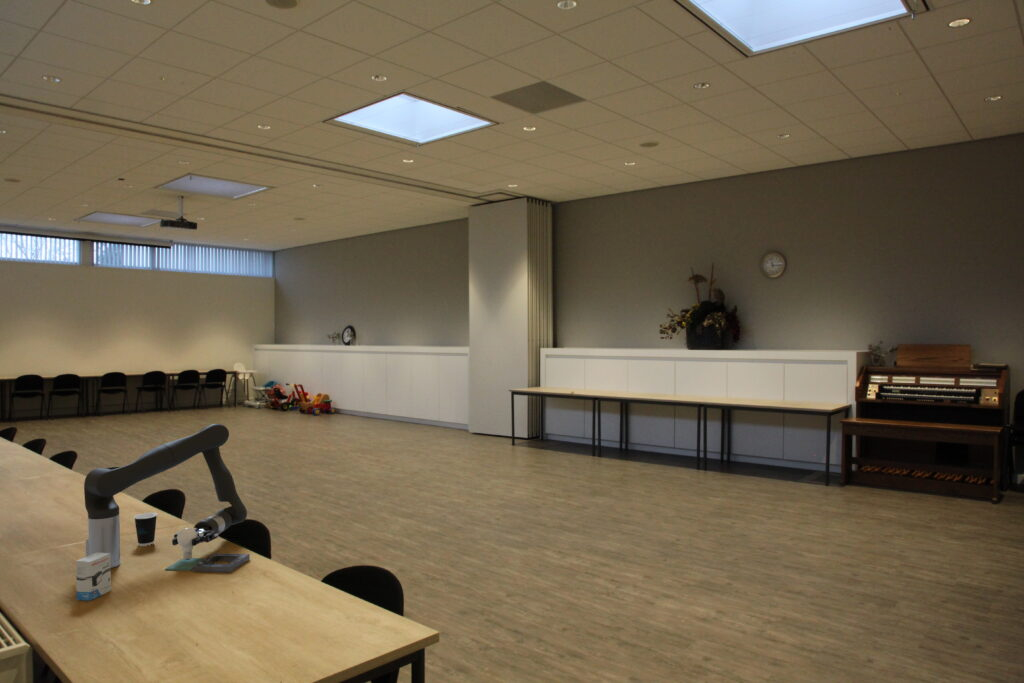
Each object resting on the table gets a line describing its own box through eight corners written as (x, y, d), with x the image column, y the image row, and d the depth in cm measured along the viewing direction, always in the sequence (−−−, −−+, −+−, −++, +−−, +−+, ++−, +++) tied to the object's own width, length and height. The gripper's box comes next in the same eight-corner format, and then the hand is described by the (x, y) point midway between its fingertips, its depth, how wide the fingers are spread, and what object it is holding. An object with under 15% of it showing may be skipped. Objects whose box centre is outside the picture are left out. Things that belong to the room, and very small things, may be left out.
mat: (165, 570, 229) (165, 568, 229) (184, 559, 240) (184, 557, 240) (190, 570, 228) (190, 569, 228) (208, 559, 239) (208, 558, 239)
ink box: (89, 601, 203) (89, 561, 203) (75, 600, 204) (75, 560, 204) (112, 590, 211) (111, 552, 211) (98, 589, 212) (97, 551, 212)
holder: (193, 571, 227) (193, 565, 227) (214, 558, 240) (214, 553, 240) (230, 572, 226) (230, 566, 226) (249, 559, 239) (249, 554, 239)
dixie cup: (155, 539, 264) (154, 511, 264) (160, 544, 258) (159, 515, 257) (132, 544, 259) (131, 515, 259) (136, 549, 253) (136, 519, 252)
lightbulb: (181, 556, 237) (180, 525, 237) (200, 556, 238) (199, 524, 238) (174, 563, 231) (173, 531, 231) (193, 562, 232) (192, 530, 231)
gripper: (190, 517, 249) (162, 531, 233) (228, 518, 248) (203, 532, 231) (191, 537, 249) (163, 553, 233) (228, 538, 248) (203, 554, 231)
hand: (183, 542), depth 232 cm, fingers closed on lightbulb, 6 cm apart
